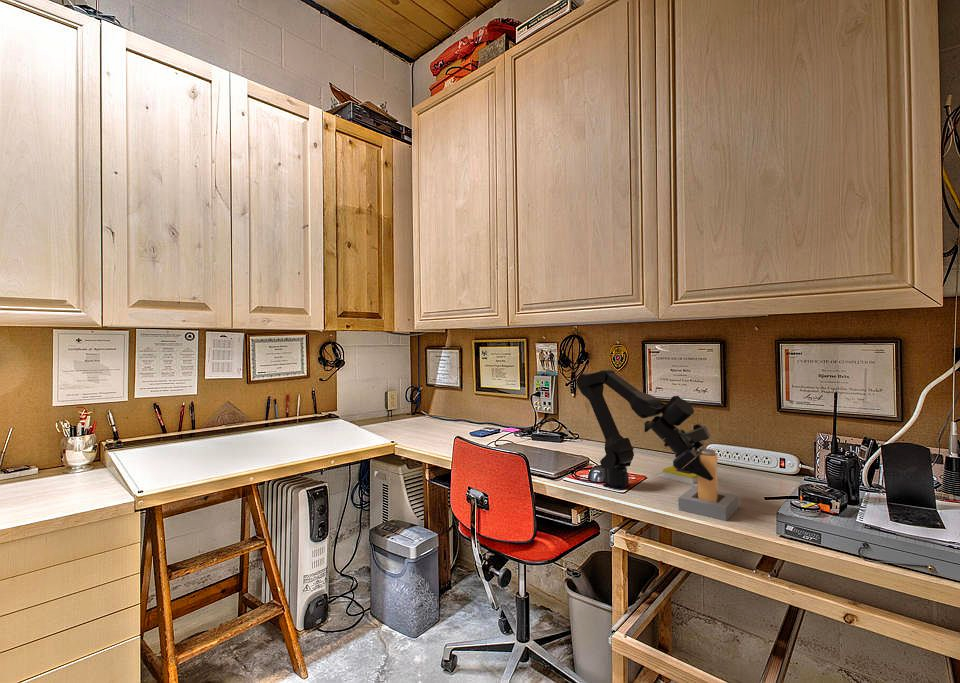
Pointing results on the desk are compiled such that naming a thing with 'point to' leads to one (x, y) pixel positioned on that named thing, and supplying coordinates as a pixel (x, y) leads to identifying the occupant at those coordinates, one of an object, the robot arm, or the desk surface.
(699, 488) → the orange bar
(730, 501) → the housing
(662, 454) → the desk surface
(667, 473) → the emergency button
